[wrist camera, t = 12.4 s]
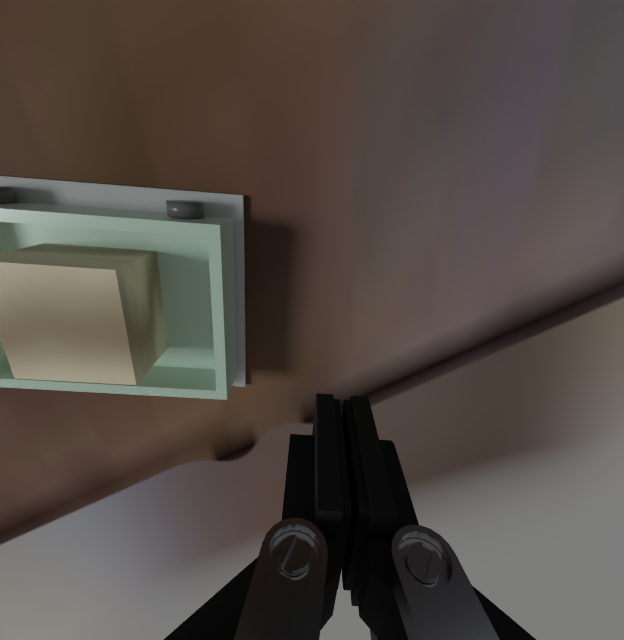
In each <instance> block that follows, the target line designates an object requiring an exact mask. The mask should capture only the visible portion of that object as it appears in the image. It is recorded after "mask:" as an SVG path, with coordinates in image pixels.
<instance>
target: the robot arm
mask: <svg viewBox="0 0 624 640" xmlns="http://www.w3.org/2000/svg"><path fill="white" fill-rule="evenodd" d="M341 569H342V581H343V589H344V590H351V602H352V606H358V607H359V616H360V618H361V619H362V620H363V621H364V622H365V623H366V625H367V626H368V627H369V628H370V634H371V640H536V639H534V637H532V636H531V635H530V634H529V633H528V632H526V631H525V630H524V629H523V628H522V627H521V626H519V625H518V624H517V623H516V622H515V621H513V620H512V619H511V618H510V617H509V616H507V615H506V614H505V613H504V612H503V611H502V610H500V609H499V608H498V607H497V606H496V605H495V604H493V603H492V602H491V601H490V600H489V599H487V598H486V597H485V596H484V595H483V594H482V593H480V592H479V591H478V590H477V589H476V588H474V587H473V586H472V585H471V583H470V581H469V579H468V577H467V576H466V574H465V572H464V570H463V568H462V566H461V564H460V562H459V560H458V558H457V556H456V554H455V553H454V551H453V550H452V548H451V547H450V545H449V544H448V543H447V542H446V541H445V540H444V539H443V538H442V537H441V536H440V535H439V534H437V533H436V532H434V531H433V530H431V529H429V528H426V527H423V526H420V525H419V524H418V520H417V517H416V514H415V511H414V507H413V504H412V501H411V498H410V494H409V491H408V488H407V485H406V481H405V478H404V475H403V471H402V468H401V465H400V461H399V458H398V455H397V452H396V449H395V445H394V443H393V442H392V441H389V440H379V438H378V434H377V430H376V426H375V422H374V418H373V414H372V410H371V406H370V402H369V399H368V397H361V396H351V397H350V400H344V403H343V410H342V416H341V407H340V400H338V399H334V397H333V395H331V394H316V402H315V413H314V423H313V434H312V435H297V434H291V435H290V443H289V454H288V463H287V474H286V484H285V493H284V503H283V513H282V521H280V522H278V523H277V524H275V525H274V526H273V527H272V528H271V529H270V530H269V531H268V532H267V534H266V536H265V538H264V540H263V543H262V546H261V549H260V553H259V556H258V557H257V558H256V559H255V560H254V561H253V562H252V563H250V564H249V565H248V566H247V567H246V568H245V569H244V570H243V571H241V572H240V573H239V574H238V575H237V576H236V577H234V578H233V579H232V580H231V581H230V582H229V583H228V584H226V585H225V586H224V587H223V588H222V589H221V590H220V591H219V592H218V593H216V594H215V595H214V596H213V597H212V598H211V599H209V600H208V601H207V602H206V603H205V604H204V605H203V606H202V607H201V608H199V609H198V610H197V611H196V612H195V613H194V614H192V615H191V616H190V617H189V618H188V619H187V620H186V621H184V622H183V623H182V624H181V625H180V626H179V627H178V628H176V629H175V630H174V631H173V632H172V633H171V634H170V635H169V636H167V637H166V638H165V639H164V640H319V635H320V630H321V629H322V628H323V626H324V625H325V624H326V623H327V621H328V620H329V619H330V617H331V616H332V615H333V609H334V604H335V599H336V593H337V589H338V585H339V580H340V574H341Z"/></svg>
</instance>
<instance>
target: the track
mask: <svg viewBox="0 0 624 640" xmlns="http://www.w3.org/2000/svg"><path fill="white" fill-rule="evenodd" d="M0 186H11V187H14V190H15V194H16V197H17V201H18V202H23V203H36V204H49V205H62V206H75V207H88V208H101V209H114V210H127V211H140V212H153V213H166V214H167V207H166V200H190V201H200V202H204V211H205V217H218V218H231V219H233V246H234V286H235V326H236V366H237V375H236V377H235V380H234V383H233V385H232V386H241V387H245V385H246V350H245V261H244V195H235V194H222V193H210V192H197V191H185V190H172V189H160V188H147V187H135V186H122V185H109V184H97V183H84V182H72V181H59V180H47V179H34V178H22V177H9V176H0Z"/></svg>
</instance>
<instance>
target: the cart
mask: <svg viewBox="0 0 624 640" xmlns="http://www.w3.org/2000/svg"><path fill="white" fill-rule="evenodd" d="M166 207H167V214H166V213H153V212H140V211H127V210H114V209H101V208H88V207H75V206H62V205H49V204H36V203H23V202H18V201H17V197H16V194H15V190H14V187H11V186H0V253H4V252H8V251H13V250H17V249H21V248H25V247H30V246H34V245H38V244H42V243H49V244H63V245H77V246H91V247H106V248H120V249H134V250H148V251H156V252H157V260H158V268H159V276H160V284H161V292H162V300H163V308H164V316H165V324H166V332H167V340H168V348H167V349H166V351H165V352H164V353H163V354H162V355H161V357H160V358H159V359H158V360H157V361H156V362H155V364H154V365H153V366H152V367H151V368H150V370H149V371H148V372H147V373H146V374H145V375H144V377H143V378H142V379H141V380H140V381H139V383H138V384H137V385H124V384H106V383H88V382H70V381H52V380H34V379H16V378H14V375H13V373H12V370H11V367H10V364H9V362H8V359H7V356H6V353H5V351H4V348H3V345H2V342H1V340H0V387H7V388H25V389H43V390H61V391H79V392H97V393H115V394H133V395H151V396H169V397H187V398H205V399H223V400H227V399H228V396H229V393H230V391H231V388H232V385H233V383H234V380H235V377H236V375H237V366H236V326H235V286H234V246H233V219H231V218H218V217H205V211H204V202H200V201H190V200H166Z"/></svg>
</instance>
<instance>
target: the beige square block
mask: <svg viewBox="0 0 624 640" xmlns="http://www.w3.org/2000/svg"><path fill="white" fill-rule="evenodd" d="M0 340H1V342H2V345H3V348H4V351H5V353H6V356H7V359H8V362H9V364H10V367H11V370H12V373H13V375H14V378H16V379H34V380H52V381H70V382H88V383H106V384H124V385H137V384H138V383H139V381H140V380H141V379H142V378H143V377H144V375H145V374H146V373H147V372H148V371H149V370H150V368H151V367H152V366H153V365H154V364H155V362H156V361H157V360H158V359H159V358H160V357H161V355H162V354H163V353H164V352H165V351H166V349H167V348H168V340H167V332H166V324H165V316H164V308H163V300H162V292H161V284H160V276H159V268H158V260H157V252H156V251H148V250H134V249H120V248H106V247H91V246H77V245H63V244H49V243H42V244H38V245H34V246H30V247H25V248H21V249H17V250H13V251H8V252H4V253H0Z"/></svg>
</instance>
